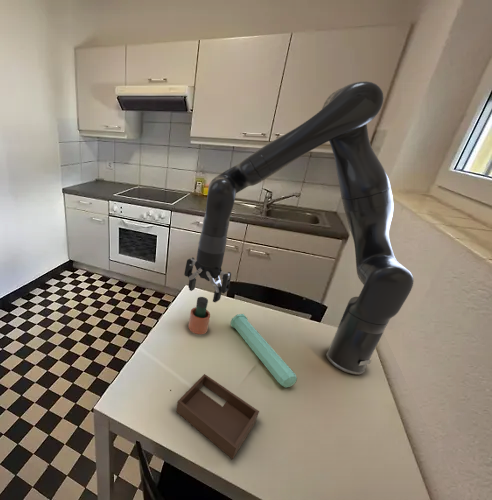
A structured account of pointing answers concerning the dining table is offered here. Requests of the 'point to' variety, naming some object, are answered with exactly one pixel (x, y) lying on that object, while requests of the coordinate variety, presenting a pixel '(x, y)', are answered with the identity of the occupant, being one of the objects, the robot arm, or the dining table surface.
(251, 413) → the tray
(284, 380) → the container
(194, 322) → the pen pot
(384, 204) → the robot arm
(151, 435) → the dining table surface
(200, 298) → the marker
